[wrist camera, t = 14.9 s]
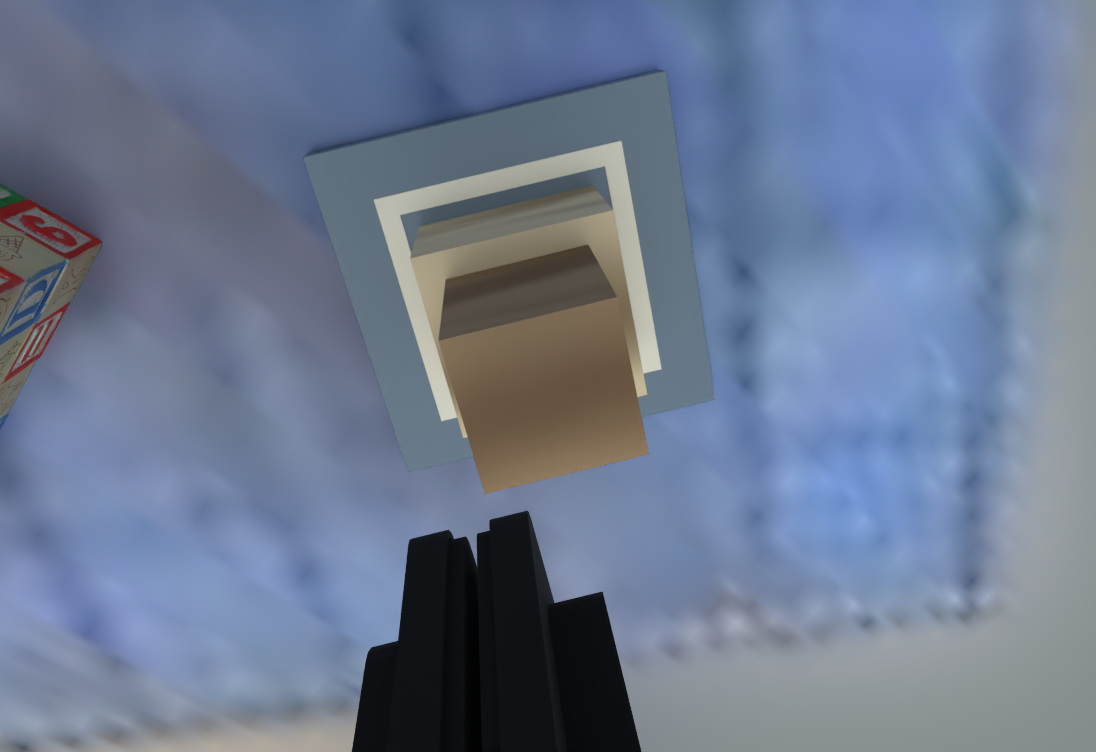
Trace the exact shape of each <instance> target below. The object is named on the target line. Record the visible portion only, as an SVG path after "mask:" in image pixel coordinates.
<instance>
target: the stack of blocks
mask: <svg viewBox="0 0 1096 752" xmlns="http://www.w3.org/2000/svg"><path fill="white" fill-rule="evenodd" d="M101 246H102V242H101V241H100V240H98V239H97V238H95V237H93V236H91V235H90V234H88V233H86V232H84V231H83V230H81V229H79V228H78V227H76V226H74V225H72V224H71V223H69V222H67V221H65V220H64V219H62V218H60V217H59V216H57V215H55V214H53V213H51V212H50V211H48V210H46V209H44V208H43V207H41V206H39V205H37V204H36V203H34V202H32V201H30V200H27V199H25V198H23V197H21V196H19V195H18V194H16V193H14V192H13V191H11V190H9V189H7V188H6V187H4V186H2V185H1V184H0V429H1V427H2V425H3V423H4V421H5V419H6V418H7V416H8V411H9V410H10V408H11V407H12V405H13V403H14V401H15V400H16V398H17V396H18V394H19V392H20V390H21V388H22V386H23V385H24V383H25V381H26V379H27V377H28V375H29V373H30V371H31V369H32V368H33V366H34V364H35V362H36V359H38V358H39V357H40V356H41V355H42V353H43V351H44V349H45V348H46V346H47V344H48V342H49V340H50V338H51V337H52V335H53V333H54V331H55V329H56V327H57V326H58V324H59V322H60V320H61V318H62V316H63V315H64V313H65V311H66V309H67V307H68V305H69V303H70V301H71V300H72V299H73V297H74V296H75V294H76V292H77V290H78V288H79V287H80V285H81V283H82V281H83V279H84V278H85V276H86V274H87V272H88V270H89V268H90V267H91V265H92V263H93V261H94V259H95V257H96V255H97V254H98V252H99V250H100V248H101Z"/></svg>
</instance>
